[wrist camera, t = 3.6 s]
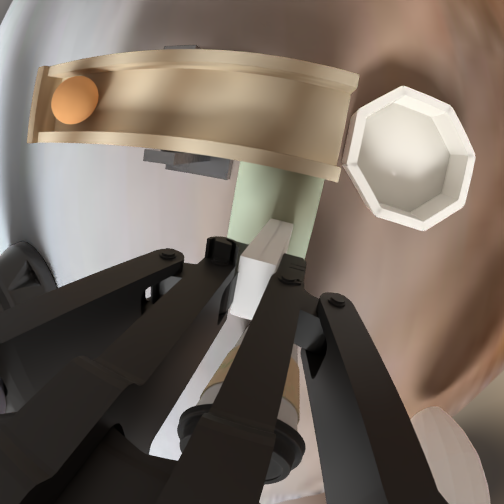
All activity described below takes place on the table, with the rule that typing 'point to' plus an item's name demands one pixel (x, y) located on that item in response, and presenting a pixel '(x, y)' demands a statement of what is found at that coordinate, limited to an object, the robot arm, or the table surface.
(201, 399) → the coffee cup
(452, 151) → the bowl
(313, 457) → the table surface
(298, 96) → the lever
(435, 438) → the cup
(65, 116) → the ball
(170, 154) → the fulcrum
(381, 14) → the table surface
